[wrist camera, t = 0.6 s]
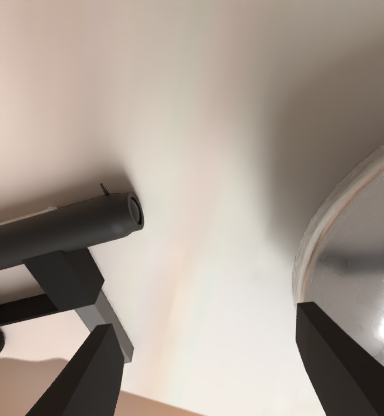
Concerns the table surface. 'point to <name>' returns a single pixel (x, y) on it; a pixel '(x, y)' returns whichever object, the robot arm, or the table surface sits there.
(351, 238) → the cooker lid
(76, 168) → the table surface
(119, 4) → the table surface
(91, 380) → the robot arm
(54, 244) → the gun
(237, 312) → the table surface
